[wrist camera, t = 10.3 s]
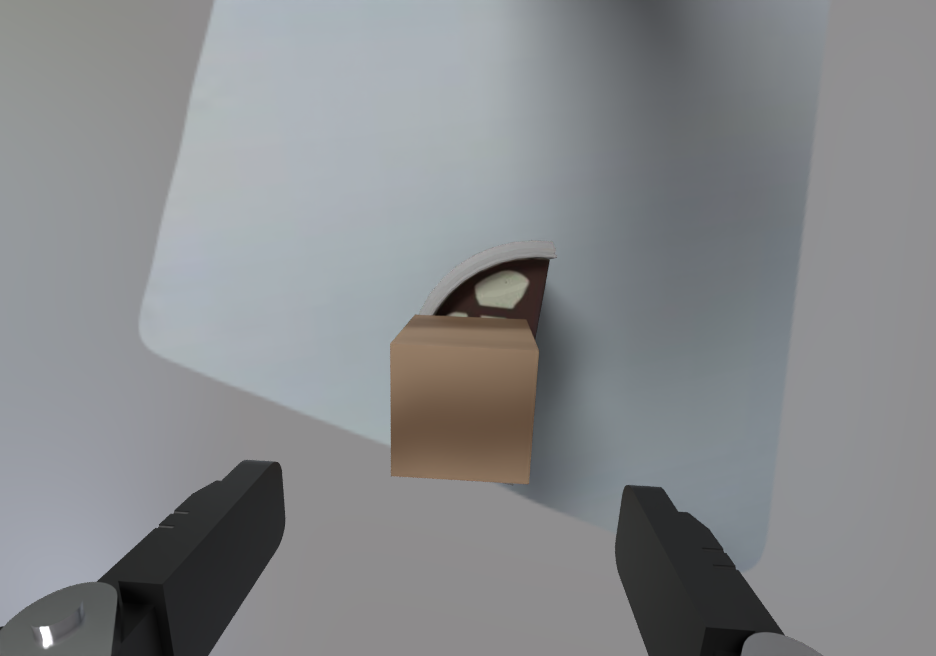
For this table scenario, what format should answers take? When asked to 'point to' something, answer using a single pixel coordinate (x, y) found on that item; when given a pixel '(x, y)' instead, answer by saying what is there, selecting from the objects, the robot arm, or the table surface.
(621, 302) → the table surface
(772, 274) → the table surface
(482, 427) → the walnut cube
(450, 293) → the food container
